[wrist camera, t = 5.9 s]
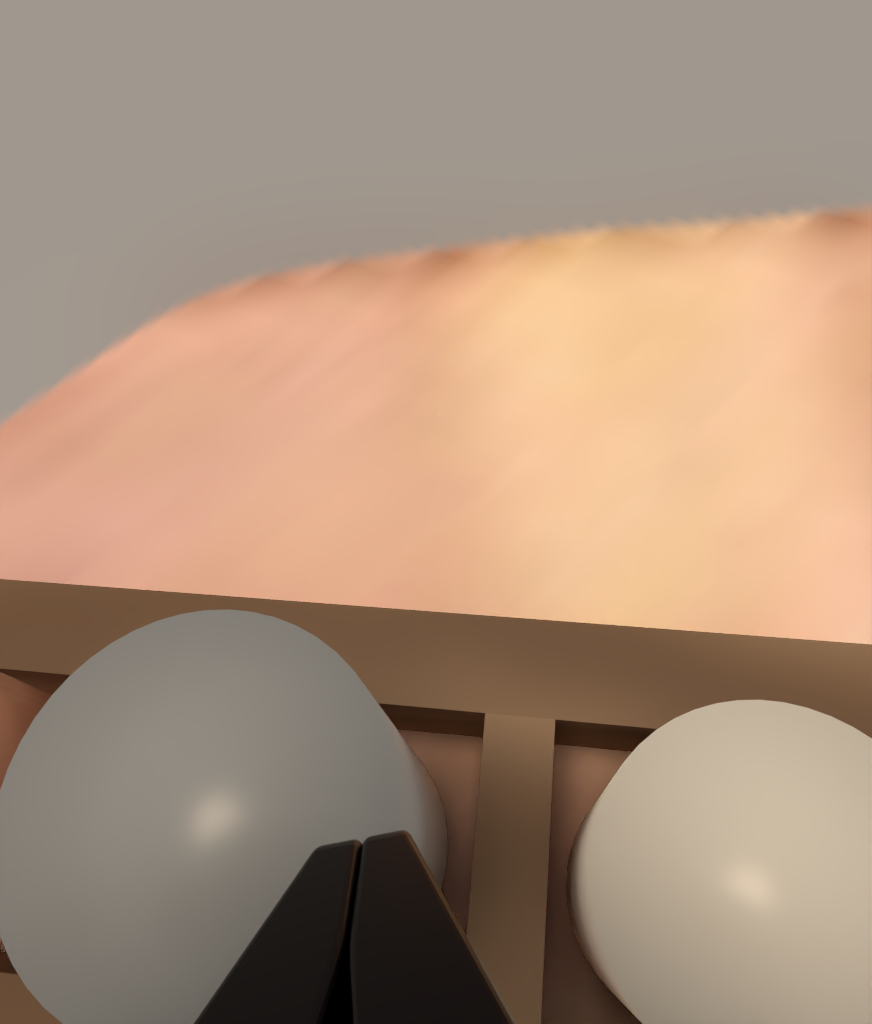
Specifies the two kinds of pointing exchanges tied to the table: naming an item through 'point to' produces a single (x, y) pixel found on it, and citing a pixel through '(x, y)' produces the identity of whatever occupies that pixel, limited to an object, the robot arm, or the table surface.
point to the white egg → (733, 870)
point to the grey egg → (188, 809)
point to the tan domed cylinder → (16, 715)
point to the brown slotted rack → (471, 715)
